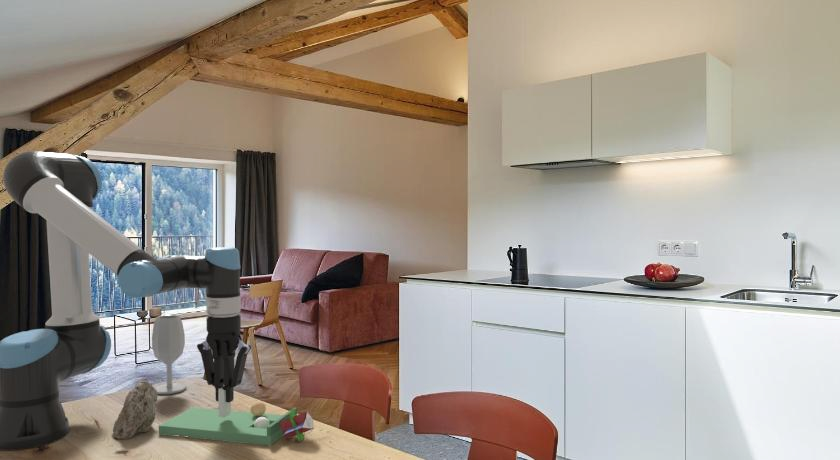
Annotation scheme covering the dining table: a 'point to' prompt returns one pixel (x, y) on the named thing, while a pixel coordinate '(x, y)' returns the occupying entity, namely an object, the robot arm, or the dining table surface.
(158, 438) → the dining table surface
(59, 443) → the dining table surface
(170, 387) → the wineglass
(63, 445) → the dining table surface
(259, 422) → the white ball
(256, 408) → the orange ball
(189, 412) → the putting mat
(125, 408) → the rock
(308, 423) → the geometric puzzle
